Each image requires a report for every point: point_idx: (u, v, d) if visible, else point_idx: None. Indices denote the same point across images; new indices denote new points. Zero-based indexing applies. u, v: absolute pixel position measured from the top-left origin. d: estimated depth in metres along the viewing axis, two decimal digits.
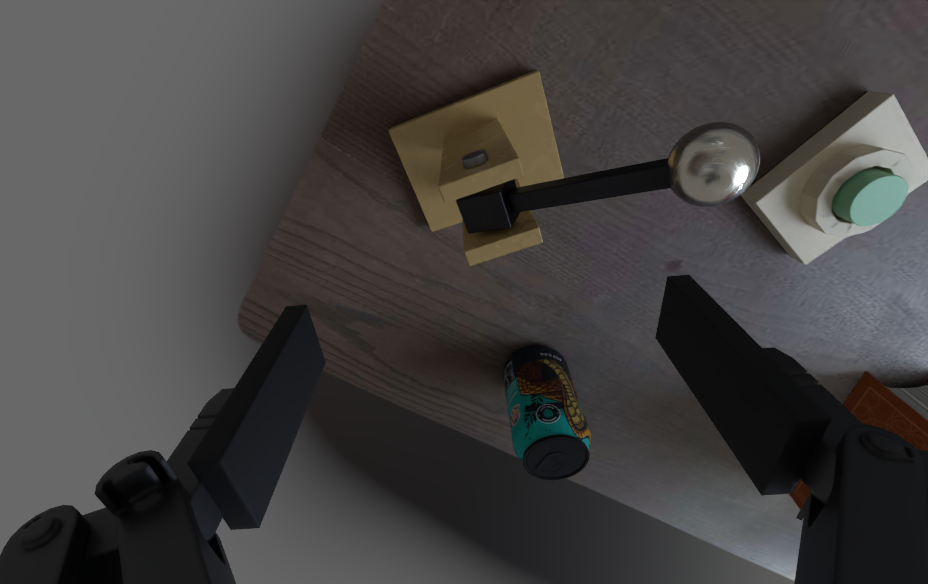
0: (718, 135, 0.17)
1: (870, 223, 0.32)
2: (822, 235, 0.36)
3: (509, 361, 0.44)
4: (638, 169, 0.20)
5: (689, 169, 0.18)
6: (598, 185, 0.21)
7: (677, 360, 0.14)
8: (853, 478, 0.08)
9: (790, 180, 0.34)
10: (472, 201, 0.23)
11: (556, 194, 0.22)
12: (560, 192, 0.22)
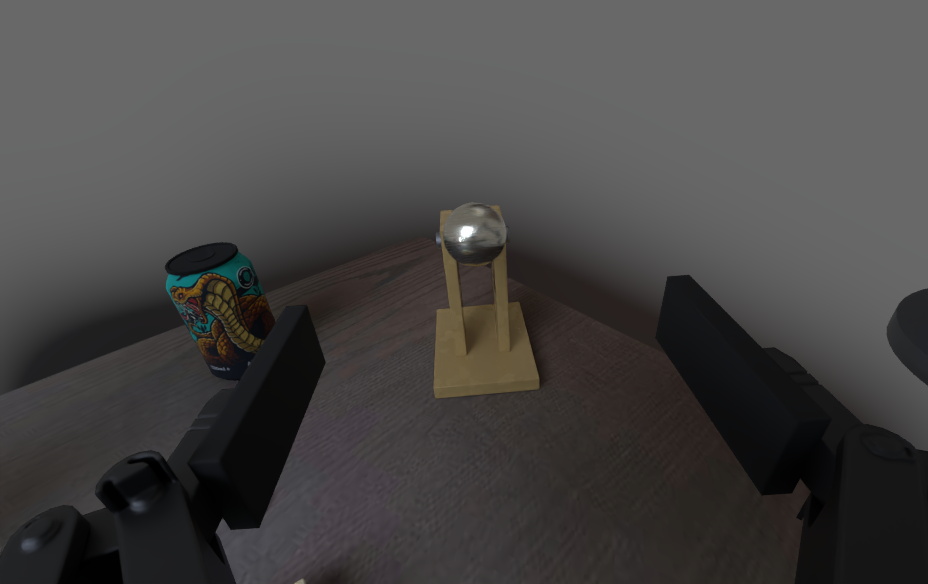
0: None
1: None
2: None
3: None
4: None
5: None
6: None
7: (677, 360, 0.14)
8: (853, 478, 0.08)
9: None
10: None
11: None
12: None
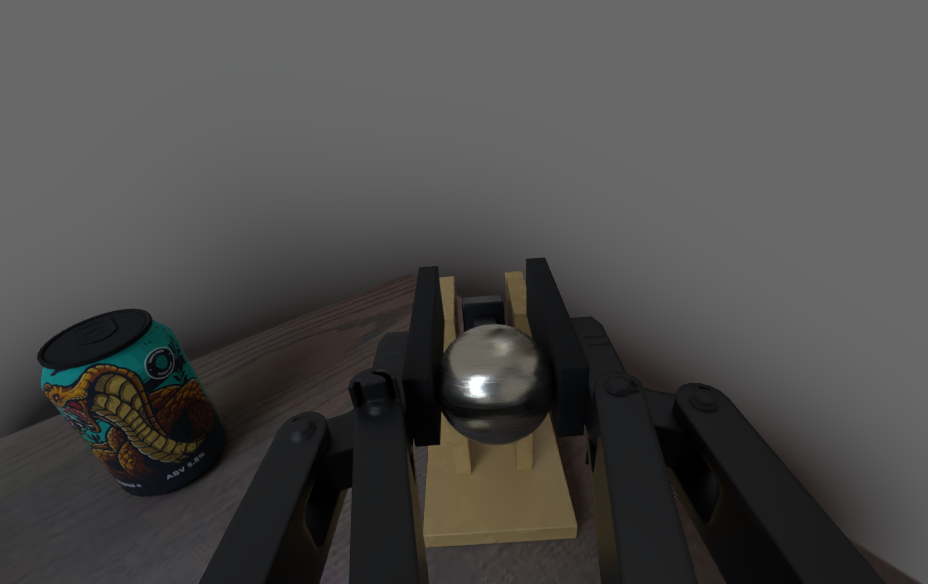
0: (546, 356, 0.12)
1: None
2: None
3: None
4: None
5: None
6: None
7: (532, 332, 0.16)
8: (607, 422, 0.10)
9: None
10: (496, 297, 0.24)
11: (488, 324, 0.20)
12: None
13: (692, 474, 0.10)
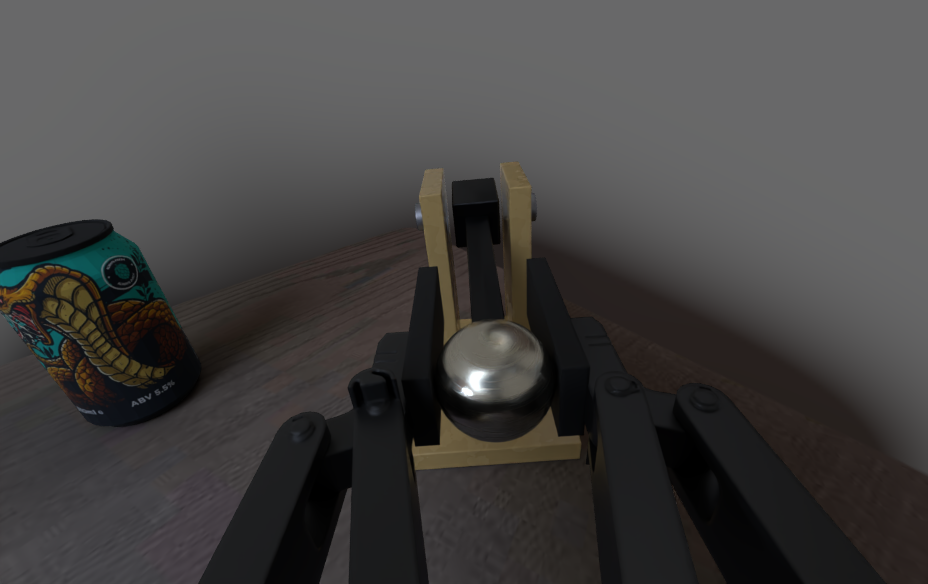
0: (549, 364, 0.12)
1: None
2: None
3: None
4: (502, 307, 0.15)
5: (510, 322, 0.12)
6: (487, 273, 0.16)
7: (533, 332, 0.16)
8: (607, 422, 0.10)
9: None
10: (490, 185, 0.21)
11: (482, 244, 0.18)
12: (484, 247, 0.17)
13: (692, 474, 0.10)
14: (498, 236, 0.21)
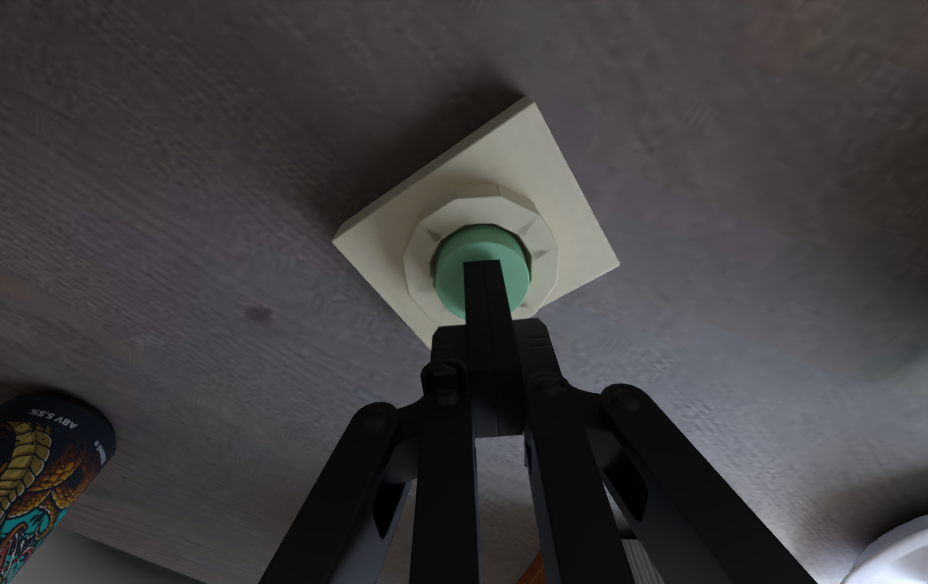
0: None
1: None
2: None
3: None
4: None
5: None
6: None
7: None
8: (538, 425, 0.10)
9: (381, 216, 0.19)
10: None
11: None
12: None
13: (623, 473, 0.11)
14: None
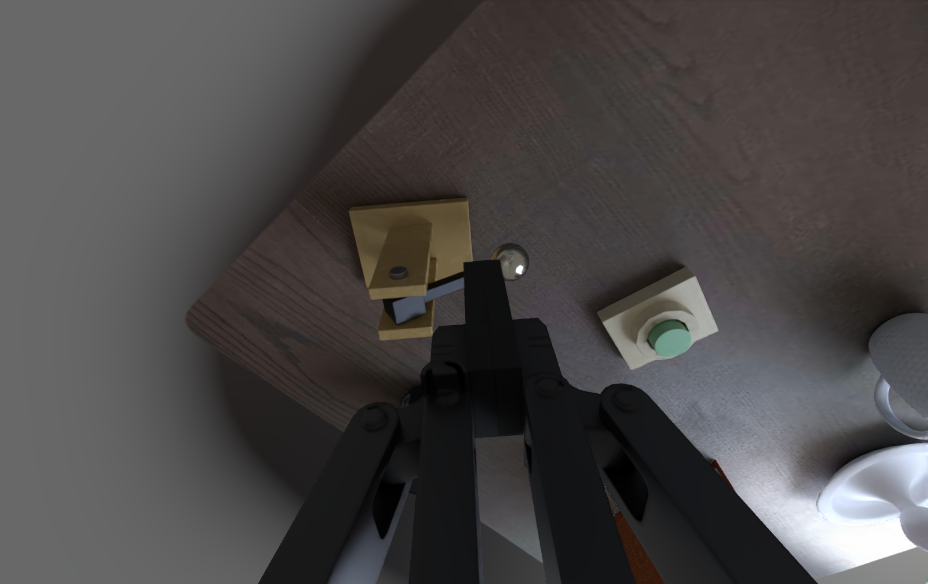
0: (517, 249, 0.38)
1: (667, 356, 0.47)
2: None
3: (408, 394, 0.55)
4: None
5: (512, 264, 0.38)
6: None
7: None
8: (538, 425, 0.10)
9: (626, 313, 0.48)
10: (404, 301, 0.33)
11: (448, 286, 0.36)
12: (451, 285, 0.36)
13: (623, 473, 0.11)
14: None
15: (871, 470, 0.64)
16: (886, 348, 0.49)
